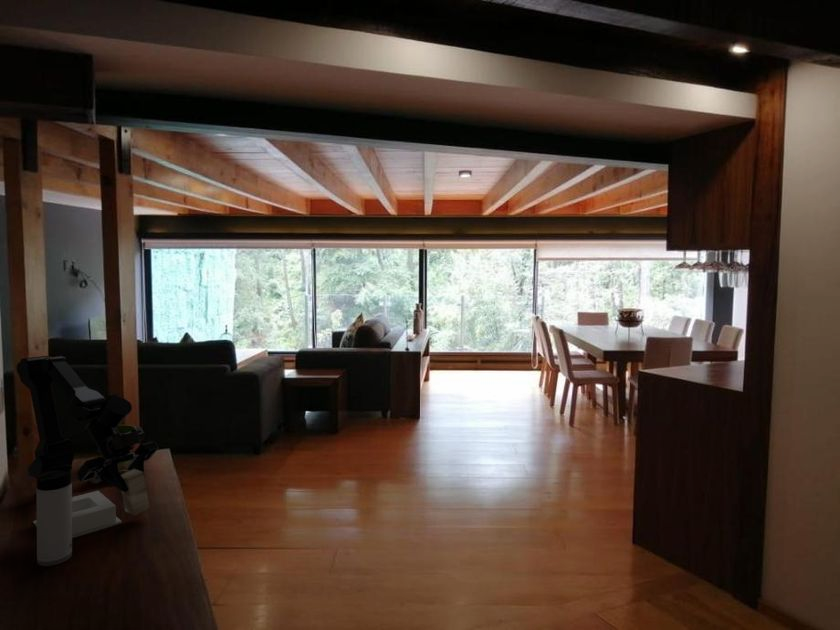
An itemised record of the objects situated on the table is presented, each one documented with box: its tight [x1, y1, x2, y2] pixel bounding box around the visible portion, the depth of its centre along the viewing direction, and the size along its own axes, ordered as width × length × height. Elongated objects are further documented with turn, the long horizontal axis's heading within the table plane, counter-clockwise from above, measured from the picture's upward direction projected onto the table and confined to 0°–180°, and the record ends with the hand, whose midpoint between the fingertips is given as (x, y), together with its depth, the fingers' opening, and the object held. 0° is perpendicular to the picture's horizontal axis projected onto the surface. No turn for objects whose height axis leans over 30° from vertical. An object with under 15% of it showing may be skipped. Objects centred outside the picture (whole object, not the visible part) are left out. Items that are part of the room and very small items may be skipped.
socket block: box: [33, 490, 123, 539], centre depth 127 cm, size 15×15×5 cm
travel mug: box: [35, 465, 73, 567], centre depth 111 cm, size 6×7×20 cm
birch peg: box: [120, 469, 150, 516], centre depth 129 cm, size 4×4×10 cm
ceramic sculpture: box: [84, 460, 130, 485], centre depth 155 cm, size 11×9×15 cm
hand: (135, 487), depth 128 cm, fingers closed on birch peg, 4 cm apart
